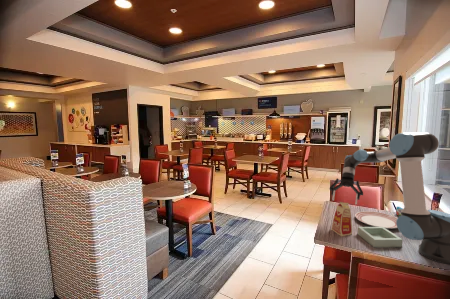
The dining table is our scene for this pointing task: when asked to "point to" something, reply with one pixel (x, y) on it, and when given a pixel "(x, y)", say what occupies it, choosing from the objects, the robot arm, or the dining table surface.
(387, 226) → the dinner plate
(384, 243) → the carton caddy
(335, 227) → the milk carton
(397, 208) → the yogurt
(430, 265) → the dining table surface
